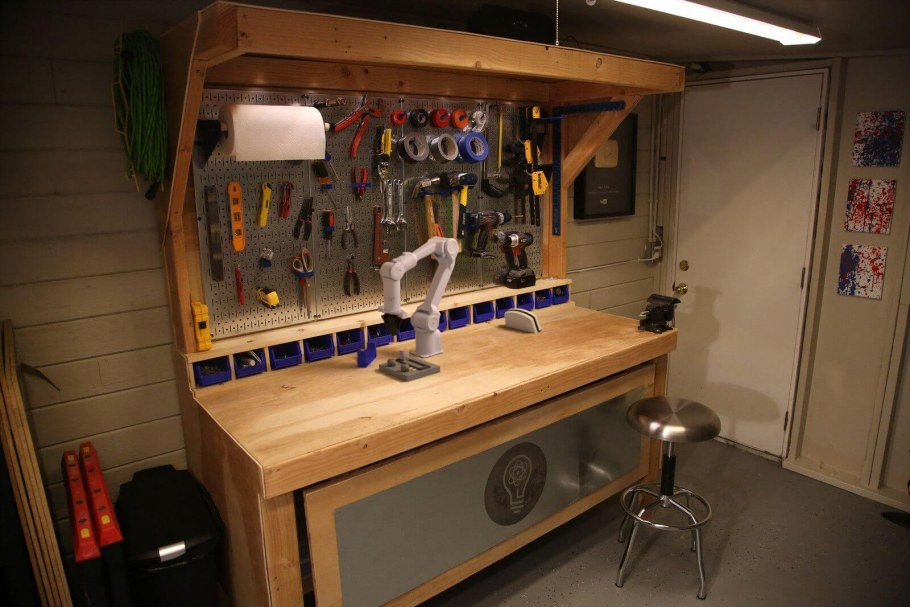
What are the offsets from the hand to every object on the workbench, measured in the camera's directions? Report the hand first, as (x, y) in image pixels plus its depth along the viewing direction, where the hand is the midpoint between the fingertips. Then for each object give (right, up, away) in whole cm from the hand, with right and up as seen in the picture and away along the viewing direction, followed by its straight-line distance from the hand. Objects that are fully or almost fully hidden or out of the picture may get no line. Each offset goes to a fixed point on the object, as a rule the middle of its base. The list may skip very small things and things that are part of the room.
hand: (392, 334), depth 214 cm
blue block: (-10, -10, +4) cm, 15 cm away
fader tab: (+4, -9, -2) cm, 10 cm away
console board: (+6, -12, -6) cm, 15 cm away
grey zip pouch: (+50, 0, +44) cm, 67 cm away
